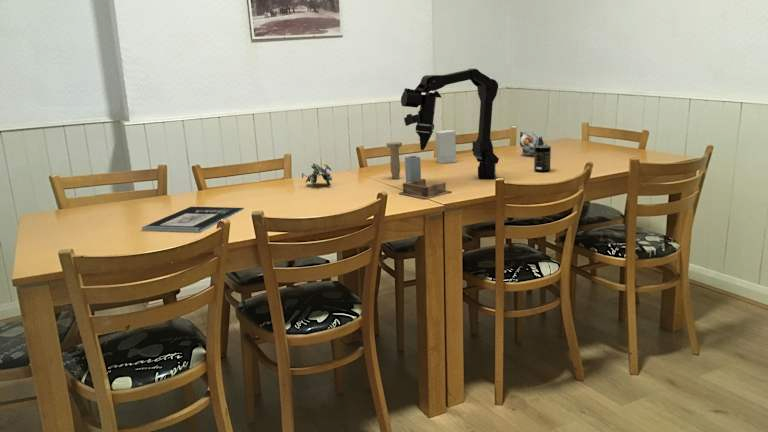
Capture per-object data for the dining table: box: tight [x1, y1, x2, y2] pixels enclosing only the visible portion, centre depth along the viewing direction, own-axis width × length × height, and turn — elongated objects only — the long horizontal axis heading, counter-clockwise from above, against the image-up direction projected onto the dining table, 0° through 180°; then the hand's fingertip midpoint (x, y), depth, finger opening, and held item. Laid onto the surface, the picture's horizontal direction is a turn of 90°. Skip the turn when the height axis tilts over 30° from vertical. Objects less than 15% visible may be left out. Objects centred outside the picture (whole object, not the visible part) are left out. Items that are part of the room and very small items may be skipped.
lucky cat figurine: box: [519, 131, 548, 156], centre depth 305 cm, size 15×12×14 cm
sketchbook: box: [141, 206, 245, 234], centre depth 216 cm, size 22×30×2 cm
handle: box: [386, 141, 403, 180], centre depth 266 cm, size 5×6×15 cm
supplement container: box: [533, 145, 552, 173], centre depth 268 cm, size 7×7×10 cm
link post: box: [404, 155, 422, 183], centre depth 248 cm, size 4×4×12 cm
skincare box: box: [434, 129, 457, 165], centre depth 297 cm, size 8×6×15 cm
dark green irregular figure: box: [301, 162, 333, 187], centre depth 260 cm, size 11×11×12 cm
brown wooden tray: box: [398, 178, 452, 201], centre depth 238 cm, size 14×14×4 cm
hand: (422, 149), depth 248 cm, fingers open, 9 cm apart
